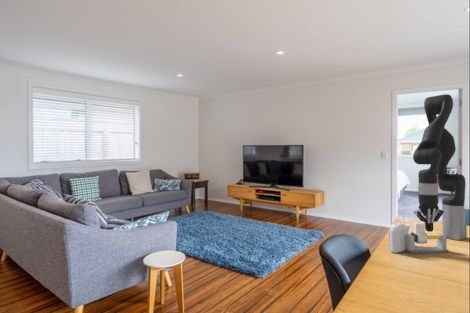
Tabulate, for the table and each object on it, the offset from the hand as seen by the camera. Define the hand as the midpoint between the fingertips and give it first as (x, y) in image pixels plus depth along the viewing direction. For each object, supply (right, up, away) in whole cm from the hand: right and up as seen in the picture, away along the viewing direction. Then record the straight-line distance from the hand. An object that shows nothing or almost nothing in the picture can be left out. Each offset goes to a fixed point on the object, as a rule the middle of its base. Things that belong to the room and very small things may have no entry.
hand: (429, 231), depth 129 cm
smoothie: (-6, -9, +10) cm, 15 cm away
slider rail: (-1, -9, 0) cm, 9 cm away
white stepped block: (-4, -5, 0) cm, 7 cm away
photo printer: (-13, -9, +1) cm, 16 cm away
